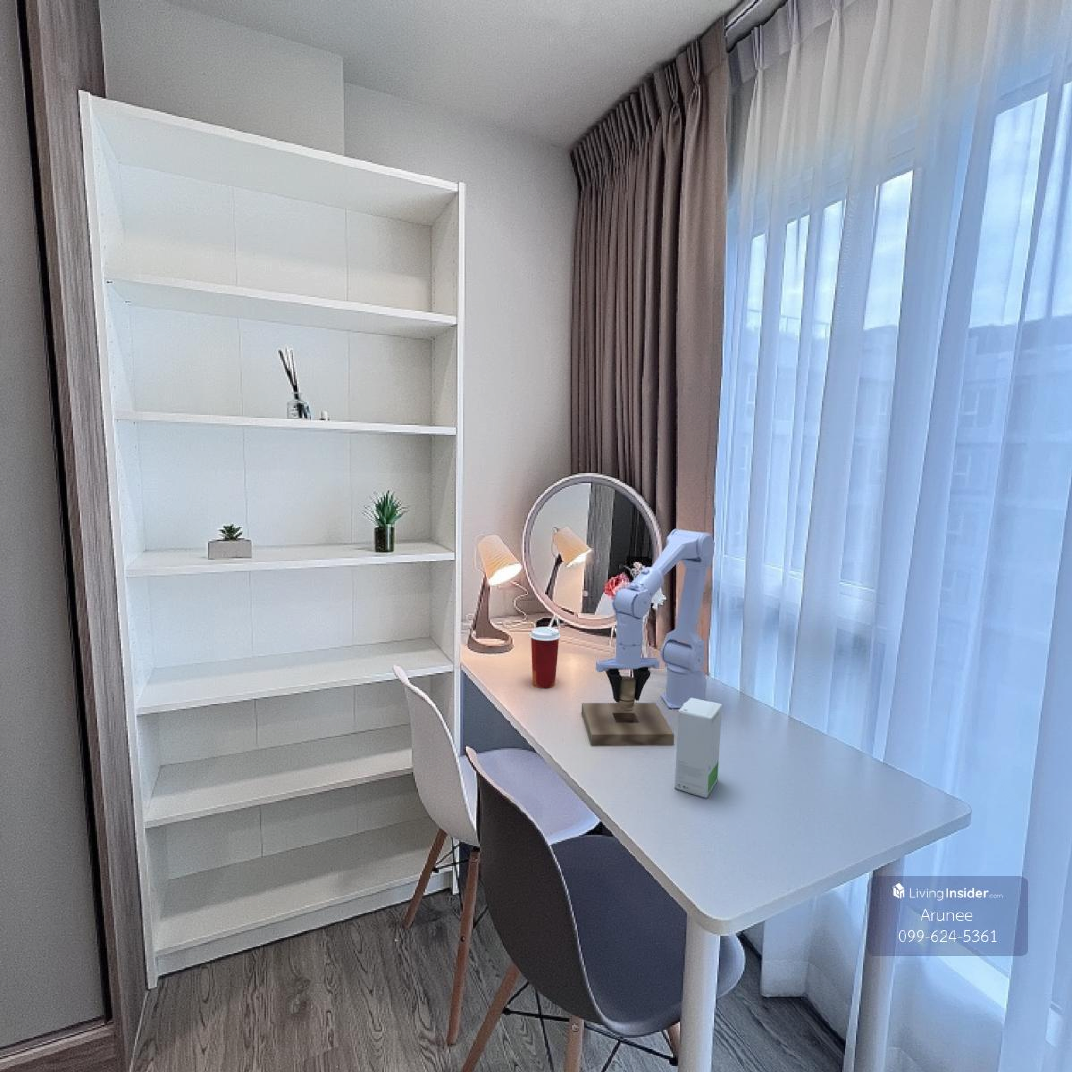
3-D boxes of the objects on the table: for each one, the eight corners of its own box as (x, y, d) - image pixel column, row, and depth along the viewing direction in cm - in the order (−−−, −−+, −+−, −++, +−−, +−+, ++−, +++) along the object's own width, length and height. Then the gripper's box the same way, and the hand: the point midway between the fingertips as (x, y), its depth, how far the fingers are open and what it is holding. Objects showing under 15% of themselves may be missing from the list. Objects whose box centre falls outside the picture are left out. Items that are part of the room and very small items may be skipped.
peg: (630, 704, 138) (632, 675, 137) (637, 711, 134) (639, 681, 133) (613, 705, 137) (615, 676, 136) (619, 712, 133) (621, 682, 132)
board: (654, 712, 144) (655, 702, 144) (673, 744, 129) (674, 734, 128) (581, 712, 143) (581, 703, 143) (591, 745, 127) (591, 734, 127)
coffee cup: (565, 684, 161) (566, 630, 159) (544, 692, 155) (546, 637, 153) (542, 675, 166) (543, 624, 164) (522, 683, 160) (523, 630, 158)
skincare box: (706, 799, 108) (711, 719, 106) (671, 788, 112) (676, 710, 110) (718, 778, 116) (724, 703, 113) (685, 768, 119) (690, 695, 117)
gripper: (651, 635, 138) (648, 690, 140) (592, 638, 135) (590, 694, 137) (664, 644, 132) (661, 702, 134) (602, 648, 128) (600, 707, 130)
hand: (626, 699), depth 135 cm, fingers closed on peg, 4 cm apart
